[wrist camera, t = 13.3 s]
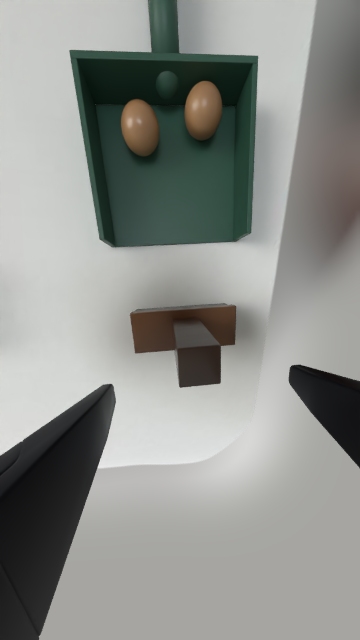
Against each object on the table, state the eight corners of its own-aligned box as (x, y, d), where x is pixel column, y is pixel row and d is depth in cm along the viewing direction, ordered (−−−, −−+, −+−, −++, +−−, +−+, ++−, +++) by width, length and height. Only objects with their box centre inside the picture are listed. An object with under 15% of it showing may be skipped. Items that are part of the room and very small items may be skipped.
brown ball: (235, 96, 12) (222, 142, 15) (214, 60, 12) (205, 113, 15) (199, 113, 12) (193, 156, 15) (178, 76, 12) (176, 126, 15)
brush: (224, 301, 19) (289, 325, 9) (224, 334, 20) (283, 389, 10) (135, 307, 18) (100, 340, 8) (140, 341, 19) (112, 407, 9)
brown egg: (167, 139, 13) (165, 146, 15) (144, 79, 11) (147, 96, 13) (134, 163, 13) (137, 165, 16) (108, 109, 12) (116, 121, 14)
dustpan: (236, 241, 17) (251, 232, 14) (111, 247, 17) (99, 239, 13) (242, -49, 13) (266, -157, 9) (66, -63, 12) (31, -185, 9)
